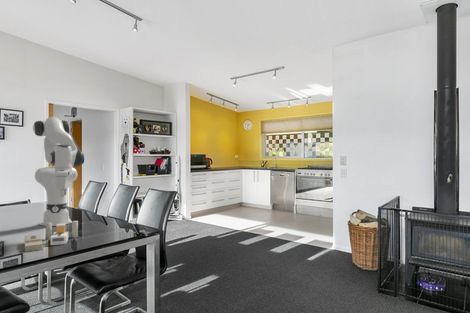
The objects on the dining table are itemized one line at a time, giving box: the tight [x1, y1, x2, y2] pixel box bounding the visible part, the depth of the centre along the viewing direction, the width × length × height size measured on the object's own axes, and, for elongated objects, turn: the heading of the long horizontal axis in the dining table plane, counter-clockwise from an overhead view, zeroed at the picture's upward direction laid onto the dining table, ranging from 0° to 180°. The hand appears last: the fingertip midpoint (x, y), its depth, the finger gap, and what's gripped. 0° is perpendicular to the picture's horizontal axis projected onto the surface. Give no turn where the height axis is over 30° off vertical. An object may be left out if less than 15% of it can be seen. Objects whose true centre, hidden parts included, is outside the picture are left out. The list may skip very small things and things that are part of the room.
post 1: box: [45, 223, 53, 241], centre depth 169 cm, size 3×3×9 cm
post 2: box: [71, 220, 79, 239], centre depth 174 cm, size 3×3×9 cm
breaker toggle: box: [55, 224, 66, 233], centre depth 167 cm, size 2×4×4 cm, turn 113°
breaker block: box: [49, 230, 70, 246], centre depth 164 cm, size 12×7×4 cm, turn 23°
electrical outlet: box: [24, 234, 44, 253], centre depth 156 cm, size 7×4×18 cm
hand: (63, 196), depth 177 cm, fingers open, 8 cm apart
